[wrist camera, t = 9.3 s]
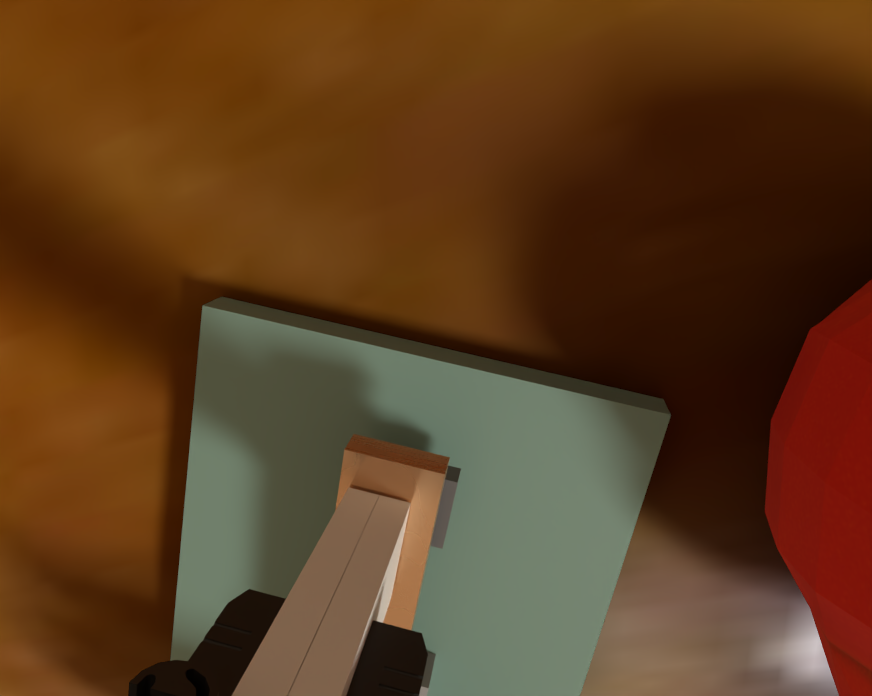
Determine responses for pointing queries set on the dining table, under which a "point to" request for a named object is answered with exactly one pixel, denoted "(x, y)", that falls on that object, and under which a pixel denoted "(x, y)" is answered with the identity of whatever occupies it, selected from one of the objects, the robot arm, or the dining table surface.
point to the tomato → (829, 486)
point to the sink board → (435, 405)
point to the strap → (407, 481)
